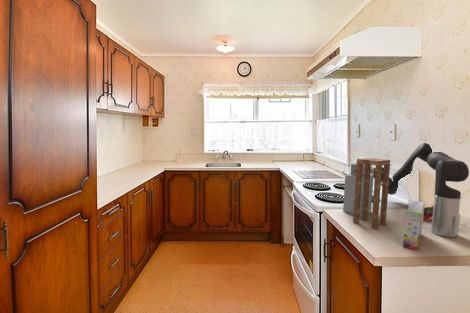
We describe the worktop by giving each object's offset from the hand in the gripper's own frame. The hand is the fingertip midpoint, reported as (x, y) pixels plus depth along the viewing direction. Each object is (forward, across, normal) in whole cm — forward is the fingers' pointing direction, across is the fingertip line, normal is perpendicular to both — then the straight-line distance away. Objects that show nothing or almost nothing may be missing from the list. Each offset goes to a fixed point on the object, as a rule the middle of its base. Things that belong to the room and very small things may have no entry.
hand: (371, 165), depth 160 cm
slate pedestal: (-1, 0, +28) cm, 29 cm away
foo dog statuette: (-16, +29, +20) cm, 39 cm away
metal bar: (+5, 0, +8) cm, 9 cm away
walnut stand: (+11, +14, +35) cm, 39 cm away
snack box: (+15, +35, +38) cm, 54 cm away
